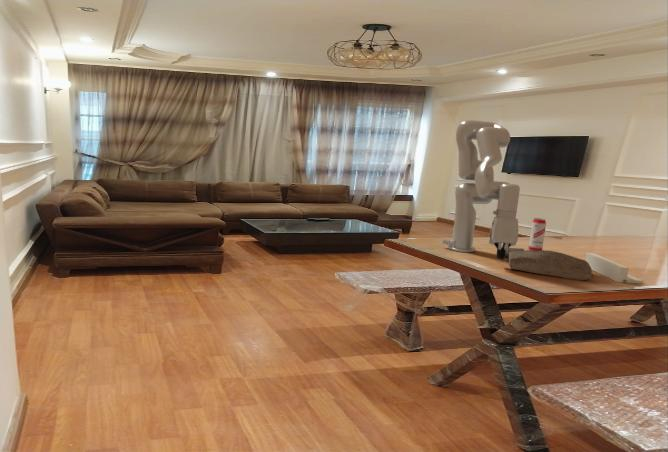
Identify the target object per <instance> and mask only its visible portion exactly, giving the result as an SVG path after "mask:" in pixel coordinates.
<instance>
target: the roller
mask: <svg viewBox="0 0 668 452" xmlns="http://www.w3.org/2000/svg"><path fill="white" fill-rule="evenodd" d="M524 250H525V249H524V248H519V247H517V248H516V247H509V248H508V249H507V250H506V253H505V257H504V258H509V252H511V251H524Z"/></svg>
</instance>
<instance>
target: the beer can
mask: <svg viewBox="0 0 668 452" xmlns="http://www.w3.org/2000/svg"><path fill="white" fill-rule="evenodd" d="M546 226H547V222H546V219H545V218H538V217H537V218H536V217H535V218H533V220H532V222H531V230H530V234H529V235H530V236H529V242H528V250H530V251H534V250H543V248H544V241H545V240H544V239H545V235H546Z"/></svg>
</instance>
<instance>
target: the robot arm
mask: <svg viewBox="0 0 668 452" xmlns="http://www.w3.org/2000/svg"><path fill="white" fill-rule="evenodd" d="M455 140H456V145H457V149H458V176H459V178H460V179H461V180H464V181H471V182H463V183H460V184H458V185H457V186H456V188H455V192H454V193H455V211H454V212H455V213H454V222H453V228H452V237H451V238H450V239H448V240H447V239H441V244H442V245H447V248H448V249H449V250H451V251H456V252H461V253H474V252H476V247H473V245H474V236H475V230H476V229H475V227H476V218H477V211H476V209H475V207H474V205H488V204H490V203H491V202H492V201H493V200H496V201H497V204H496V205H497V206H496V209H495V210H493V211H492V214H493V215H495V216H494V217H493V219H492V222H491V226H490V231H489V232H490V233H489V240H488V244H489V245H493V246H494V247H495V248H496V254H495V255H496V258H497V259H498V260H505V258H506V257H505V253H506V250H507V249H508V248H511V247H515V246H516V245H517V243H518V239H519V219H518V218H517V213H518V212H517V211H518V205H519V197H520V187H521V186H519V185H518V184H515V183H510V182H507V181H499V180H497V181H495V180H494V178H495V177H494V176H495V175H494V173H495V172H494V168H493V167H495V166H497V165H499V164H500V162H502V160H503V157H502V153H501V148H507V146H508V145H509V144H510V141H511V135H510V132H509V130H508V129H507V128H506V127H504V126H502V125H499V124H498V123H496V122H493V121H482V120H473V119H471V120H468V119H467V120H463V121H461V122H460V123H459V124H458V125H457V129H456V132H455ZM473 140H474V141H475V140H476V141H477V142H476V143H477V146H476V144H475V143H474V142H473ZM477 147H478V149H477ZM478 152H479V157H478ZM479 159H480V160H479ZM472 181H473V183H472Z"/></svg>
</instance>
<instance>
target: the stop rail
mask: <svg viewBox="0 0 668 452" xmlns="http://www.w3.org/2000/svg"><path fill="white" fill-rule="evenodd" d="M584 260H585V261H587V262H588V264H589V265H590V267H591V270H592V271H594V272H596V273H598V274H600V275H602V276H604V277H606V278H608V279H611V280H613V281H615V282H617V283H622V284H623V283H624V284H625V283H627V284H639V285H640V284H642V285H643V284H644V280H642V279H640V278H638V277H635V276H633V275H631V274H629V269H630V268H629V266H626V265H623V264H621V263H618V262H616V261H613V260H611V259H608V258H606V257H603V256H601V255H599V254H596V253H594V252H586V253H585V257H584Z"/></svg>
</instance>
